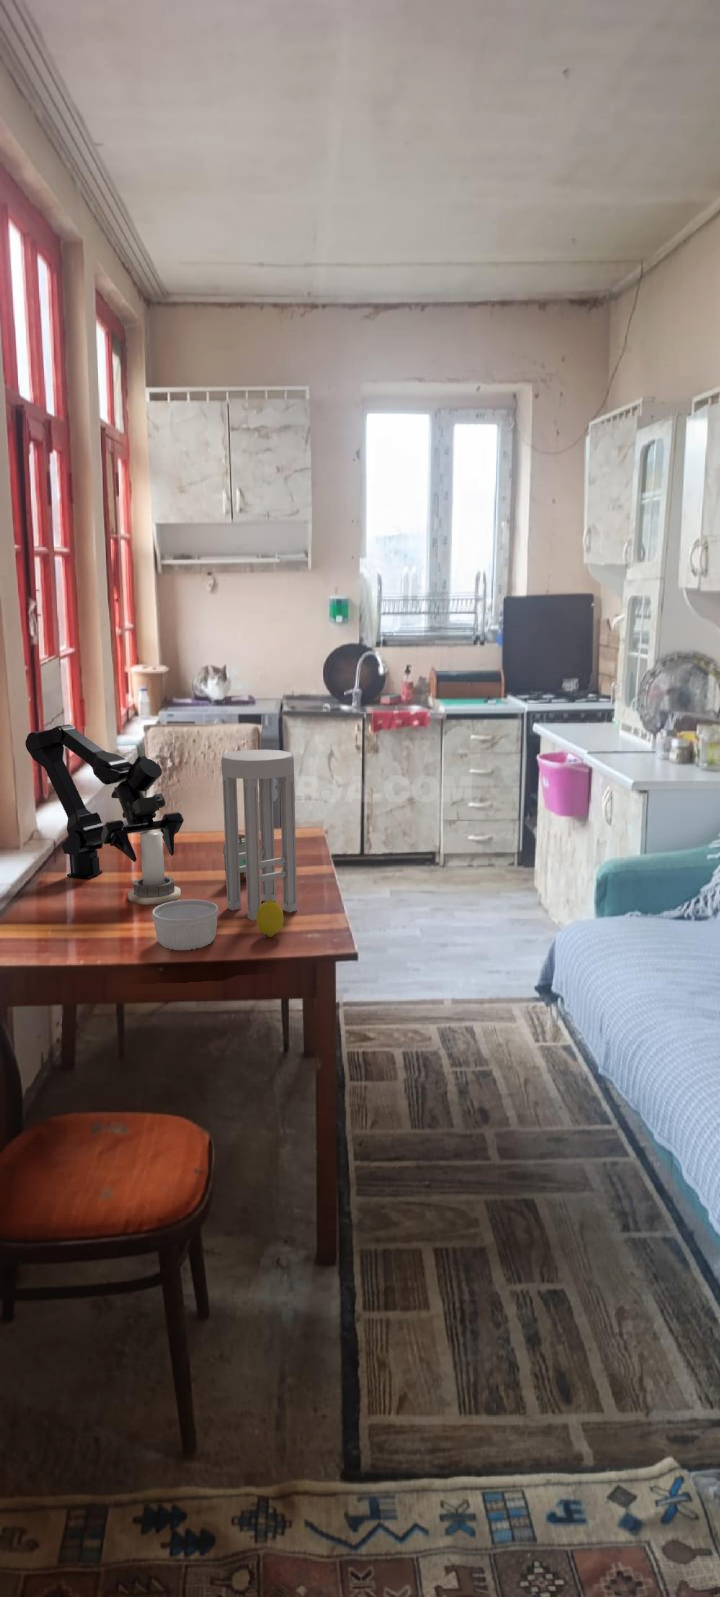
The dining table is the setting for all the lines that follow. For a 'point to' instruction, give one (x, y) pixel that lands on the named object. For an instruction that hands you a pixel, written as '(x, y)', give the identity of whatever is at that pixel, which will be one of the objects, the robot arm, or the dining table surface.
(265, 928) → the lemon
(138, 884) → the socket
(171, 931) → the ramekin
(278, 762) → the stool
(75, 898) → the dining table surface
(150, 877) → the white smooth rounded part
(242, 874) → the food container
